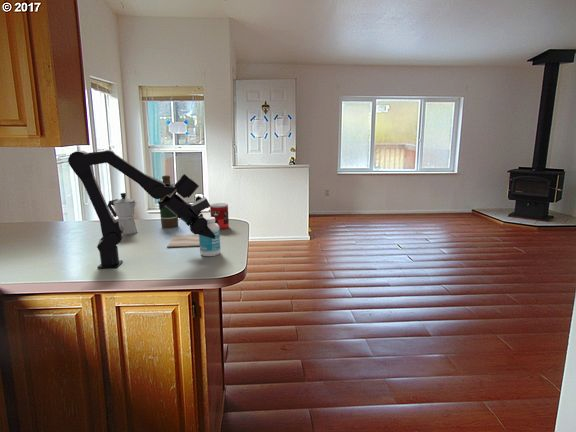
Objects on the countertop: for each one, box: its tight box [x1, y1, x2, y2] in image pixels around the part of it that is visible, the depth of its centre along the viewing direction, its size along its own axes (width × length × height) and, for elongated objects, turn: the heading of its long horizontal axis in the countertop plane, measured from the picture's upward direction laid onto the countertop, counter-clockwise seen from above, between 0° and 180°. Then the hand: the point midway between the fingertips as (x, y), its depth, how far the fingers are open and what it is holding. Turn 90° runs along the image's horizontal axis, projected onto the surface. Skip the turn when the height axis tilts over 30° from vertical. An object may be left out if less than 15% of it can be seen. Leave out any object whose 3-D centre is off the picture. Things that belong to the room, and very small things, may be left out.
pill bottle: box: [199, 216, 221, 257], centre depth 146 cm, size 8×7×14 cm
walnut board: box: [166, 234, 200, 249], centre depth 164 cm, size 16×13×1 cm
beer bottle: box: [159, 175, 179, 229], centre depth 188 cm, size 8×8×24 cm
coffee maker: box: [107, 192, 138, 236], centre depth 178 cm, size 15×9×18 cm, turn 74°
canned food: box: [209, 202, 230, 231], centre depth 185 cm, size 8×8×11 cm
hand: (213, 234), depth 147 cm, fingers closed on pill bottle, 7 cm apart
